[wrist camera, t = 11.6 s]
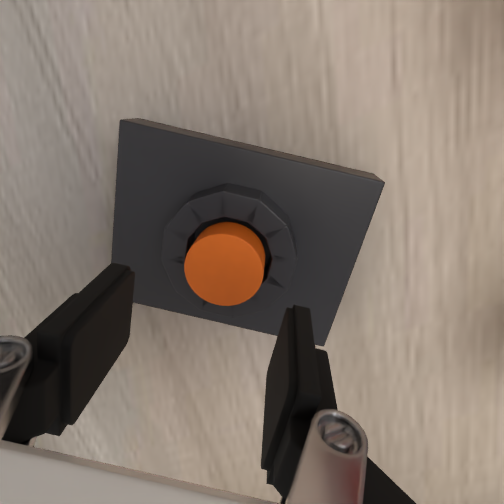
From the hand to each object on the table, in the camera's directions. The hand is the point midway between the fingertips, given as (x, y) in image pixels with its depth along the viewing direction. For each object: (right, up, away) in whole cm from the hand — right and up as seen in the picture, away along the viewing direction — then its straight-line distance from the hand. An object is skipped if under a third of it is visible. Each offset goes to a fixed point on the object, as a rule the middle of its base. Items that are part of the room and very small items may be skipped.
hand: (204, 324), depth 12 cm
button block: (+1, +4, +9) cm, 9 cm away
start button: (0, +2, +5) cm, 6 cm away
